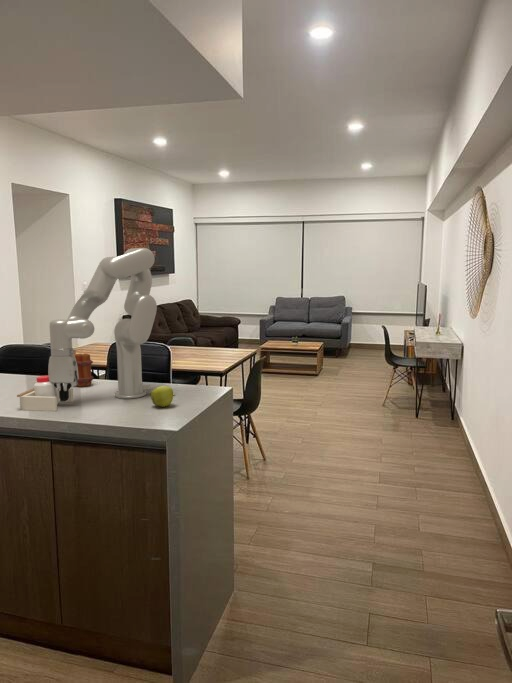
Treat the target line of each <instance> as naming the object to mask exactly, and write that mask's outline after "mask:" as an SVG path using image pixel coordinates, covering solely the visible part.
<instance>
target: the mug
mask: <svg viewBox="0 0 512 683" xmlns="http://www.w3.org/2000/svg"><path fill="white" fill-rule="evenodd" d="M73 356H75V358H76V362H77V367H78V376H79V379H78V380H77V383H78V385H76V386H75V387H79V388H82V387H83V388H85V387H88V386H91V385H92V382H93V380H94V378H95V377H94V376H93V375H92V364H93V363H94V361H93V360H92V359H91V354H89V353H75V354H73Z"/></svg>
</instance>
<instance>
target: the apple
mask: <svg viewBox="0 0 512 683" xmlns="http://www.w3.org/2000/svg"><path fill="white" fill-rule="evenodd" d="M175 396H176V394H175V393H174V390H173V389H172V388H171V387H170V386H167V385H160V386H158V387H156V388H153V390H151V392H150V398H151V402H152V403H153V405H155V406H157V407H161V408H166V407H168V406H170V405H171V404H172V402H173V400H174V397H175ZM165 406H166V407H165Z"/></svg>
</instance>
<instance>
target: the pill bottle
mask: <svg viewBox="0 0 512 683" xmlns="http://www.w3.org/2000/svg"><path fill="white" fill-rule="evenodd" d="M35 379H36V382H35V383H34V384H33V388H34V391H35V396H46V397H57V388H56V387H55V386H54V383H52V382H50V381H49V378H48V375H39V376H37V377H36V378H35ZM58 404H59V402H58V397H57V405H58Z"/></svg>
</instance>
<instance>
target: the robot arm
mask: <svg viewBox="0 0 512 683" xmlns="http://www.w3.org/2000/svg"><path fill="white" fill-rule="evenodd" d="M155 260H156V259H155V255H154V252H153V251H151V250H150V249H149V248H146V247H138V248H137V247H136V248H129V249H127V250H126V251H124V253H123V254H122V255H120V254H119V255H118V256H106V257H104V258H102V259H101V261H100V262H99V263H98V266H97V267H96V269H95V270H94V271H95V272H94V273H93V276H92V278H91V279H90V282H89V284H88V286H87V288H86V290H85V291H84V292H83V293H82V295H81V296H80V297H79V299H77V301H76V303H75V304H74V306H73V307H72V309H71V310H70V313H69V315H68V317H67V319H54V320H51V321H50V322H49V337H50V338H49V339H50V340H49V341H50V343H49V344H50V356H49V359H48V369H47V370H48V371H47V372H48V373H47V374H48V378H49V381H50V382H52V383H54V386H55V387H56V388H57V389H58V391H59V398H60V401H64V402H63V403H66V402H65V401H67V400H68V398H69V389H72V387H77V386H76V385H78V383H77V380H78V379H79V376H78V367H77V362H76V358H75V356H73V354H75V353H76V352H77V351H76V349H74V347H73V340H72V339H81V340H83V339H84V340H85V339H87V338H90V337H91V336H93V335H94V333H95V325H94V324H93V322H92V321H91V320H89V318H90V316H91V315H92V313H94V311H95V310H96V309H97V308H99V307H100V306H102V305H103V304H104V303H106V302H107V301H108V299H109V297H110V295H111V292H112V290H113V288H114V287H115V284H116V283H117V280H122V279H126V278H128V277H129V278H130V282H129V286H128V290H127V294H126V298H125V301H124V305H123V309H124V311H125V313H126V314H127V315H128V316H130V317H131V318H123V319H120V320H118V322H117V323H116V324H115V325H114V331H113V332H114V341H115V345H116V358H117V359H116V360H117V362H116V363H117V364H116V365H117V388H118V391H115V392H114V397H115V398H118V399H127V400H128V399H139V398H142V397H145V396H146V395H147V391H153V390H154V385H150V384H147V385H145V384H144V383H143V375H142V374H143V373H142V371H143V370H142V349H141V345H144V343H146V342H147V341H148V340H149V338H150V335H151V333H152V329H153V325H154V322H155V320H156V319H155V318H156V315H157V308H158V306H157V301H156V299H155V298H154V296H152V295H150V294H151V288H152V284H153V276H152V273H151V267H153V265H154V264H155ZM76 354H77V353H76Z"/></svg>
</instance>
